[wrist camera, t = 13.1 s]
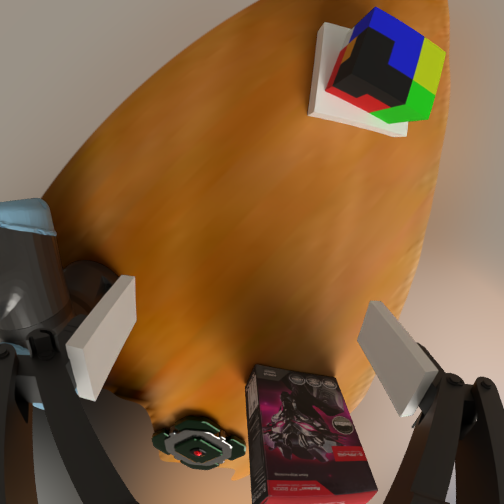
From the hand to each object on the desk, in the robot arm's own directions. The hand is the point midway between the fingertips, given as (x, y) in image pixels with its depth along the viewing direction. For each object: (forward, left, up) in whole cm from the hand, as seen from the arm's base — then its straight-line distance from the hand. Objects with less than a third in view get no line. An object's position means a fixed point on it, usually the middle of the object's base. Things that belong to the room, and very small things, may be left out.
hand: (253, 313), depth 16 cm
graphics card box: (+13, -31, -29) cm, 44 cm away
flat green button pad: (-4, -53, -29) cm, 61 cm away
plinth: (+14, +22, -29) cm, 39 cm away
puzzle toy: (+14, +22, -25) cm, 36 cm away
